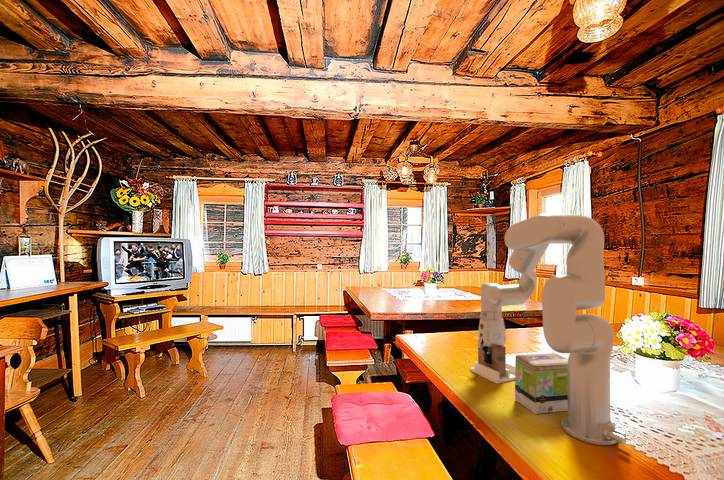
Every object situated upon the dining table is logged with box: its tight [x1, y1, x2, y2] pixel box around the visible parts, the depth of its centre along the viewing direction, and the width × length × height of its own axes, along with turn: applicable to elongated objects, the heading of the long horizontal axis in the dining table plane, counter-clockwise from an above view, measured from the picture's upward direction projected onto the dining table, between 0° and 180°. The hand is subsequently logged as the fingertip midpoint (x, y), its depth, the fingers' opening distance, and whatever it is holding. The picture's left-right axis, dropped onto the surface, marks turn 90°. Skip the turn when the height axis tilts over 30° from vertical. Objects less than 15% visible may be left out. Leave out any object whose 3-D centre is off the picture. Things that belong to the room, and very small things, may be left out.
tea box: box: [514, 352, 568, 415], centre depth 104 cm, size 15×10×15 cm
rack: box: [469, 361, 516, 385], centre depth 129 cm, size 14×14×4 cm
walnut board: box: [477, 340, 507, 375], centre depth 128 cm, size 11×3×10 cm, turn 23°
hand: (491, 362), depth 128 cm, fingers closed on walnut board, 3 cm apart
